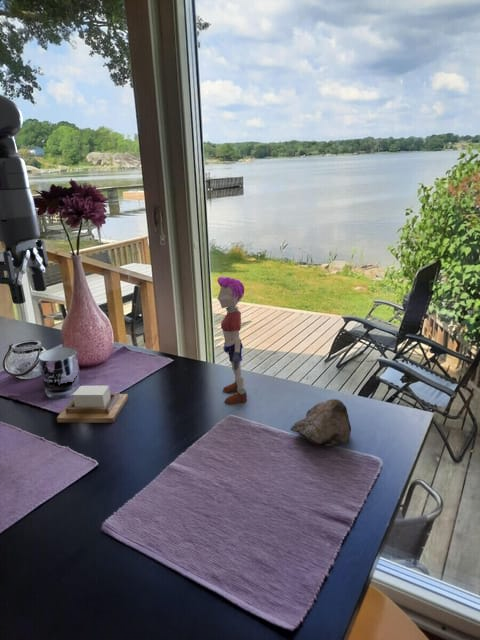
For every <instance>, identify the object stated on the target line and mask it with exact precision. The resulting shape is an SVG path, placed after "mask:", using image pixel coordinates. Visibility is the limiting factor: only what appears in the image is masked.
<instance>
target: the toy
mask: <svg viewBox="0 0 480 640" xmlns="http://www.w3.org/2000/svg"><path fill="white" fill-rule="evenodd" d="M217 283H218V285H219V286H220V289H219V292H218V296H217V301H219V304H220V307H221V309H225V310H226V314H225V316H224V317H223V319H222V320H221V322H220V328H221V330H222V334H223V338H224V343H223V348H222V350H223V351H224V353H226V354H227V356H229V357H228V358H229V362H230V364H231V370H232V371H233V373H234V382H233V383H231V384H228V385H226V386H224V387H223V389H222V391H223V392H224V393H226V394H229V393H233V392H234V394H232V395H229V396H227V397H226V398H225V400H224V402H225V404H227V405H228V404H229V405H235V404H240V403H246V402H247V401H248V399H247V398H248V395H247V390H246V387H245V383H244V381H245V380H244V376H243V375H242V368H241V362H242V361H243V355H242V351H243V348H244V345H243V343H242V339H241V338H240V331H241V328H242V313H241V311H240V310H239V308H240V307H239V306H237V305H238V304H239V303H240V302H241V300H242V298H243V297H244V295H245V286H244V284H243V282H242V281H241V280H240V279H237V278H234V277H233V278H232V277H230V276H219V277H218V278H217ZM235 392H236V393H235Z"/></svg>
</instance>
